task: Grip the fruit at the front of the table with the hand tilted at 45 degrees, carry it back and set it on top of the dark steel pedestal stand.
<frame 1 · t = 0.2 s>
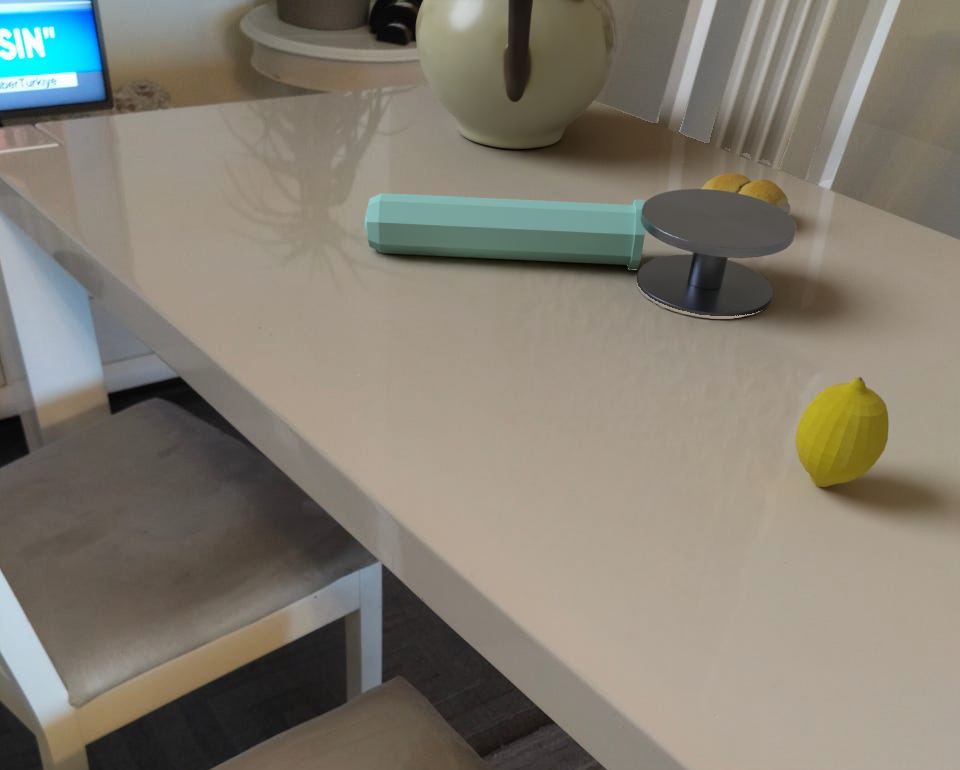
stand: (703, 288, 87), on the table
pitcher: (513, 137, 115), on the table
container: (500, 258, 90), on the table
fruit: (822, 487, 66), on the table
bread roll: (739, 220, 99), on the table
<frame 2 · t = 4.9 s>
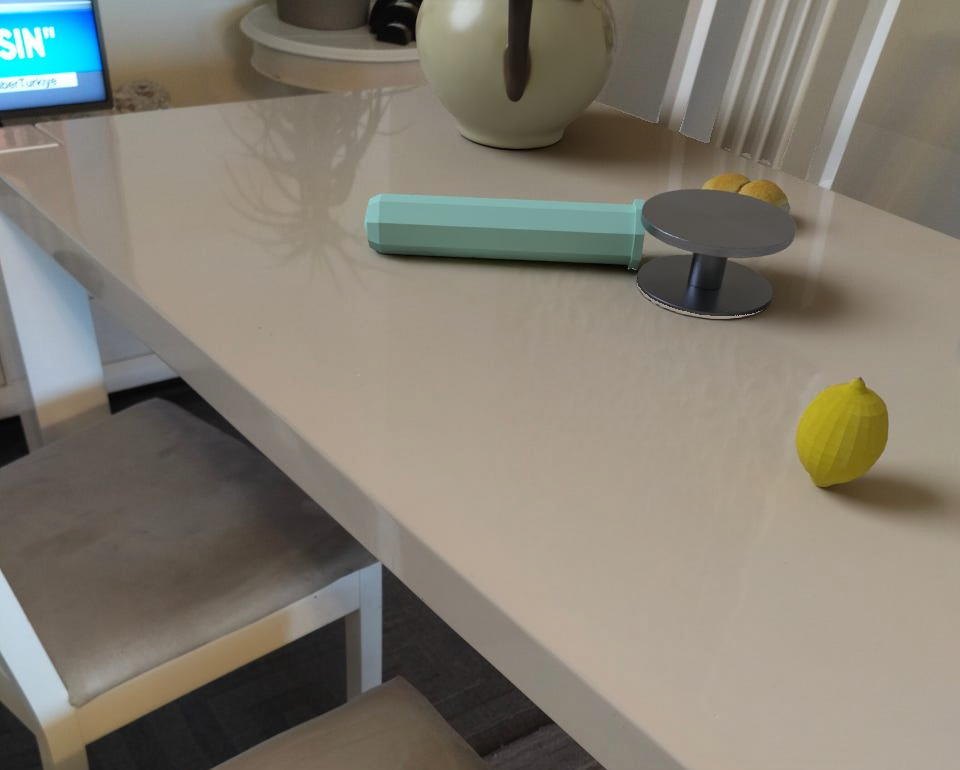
nothing on the table moved.
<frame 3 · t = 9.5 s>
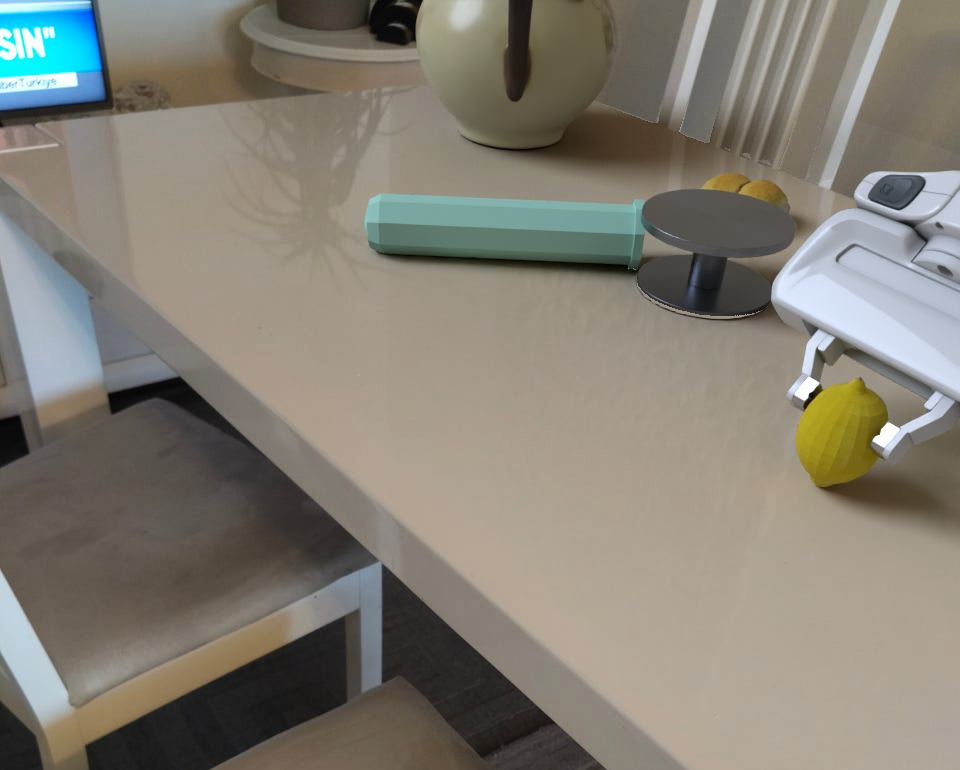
hand: (836, 430, 62), 4 cm above the table, tool tilted 45°, fingers closed on fruit, 5 cm apart
fruit: (822, 487, 66), on the table, touching gripper
everything else where it was.
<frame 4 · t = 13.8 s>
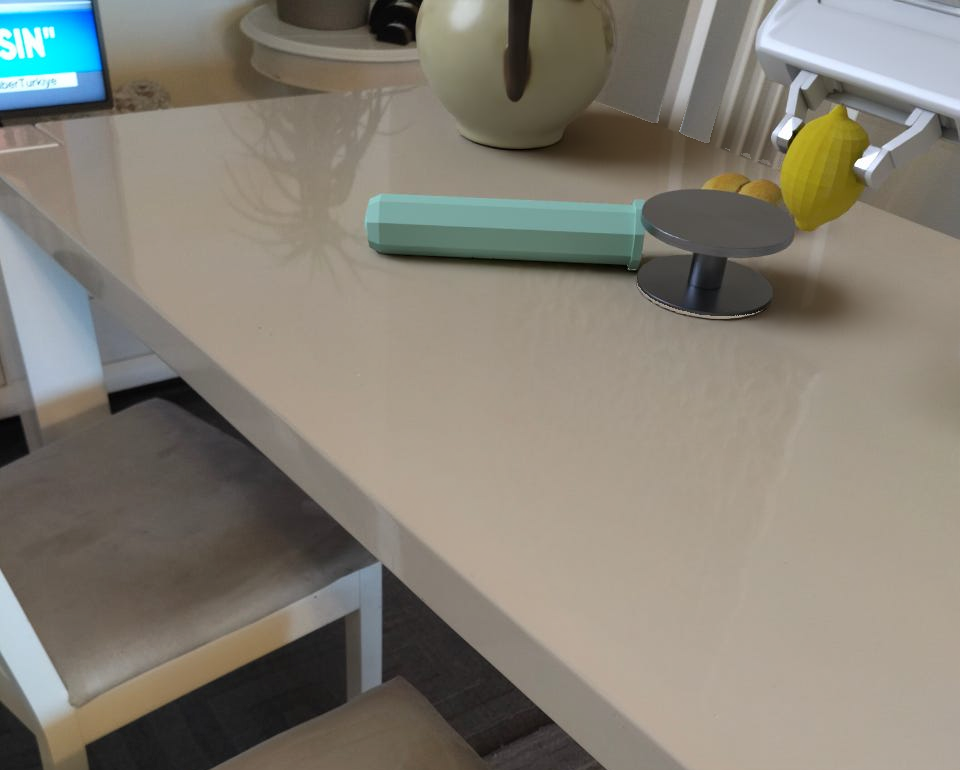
hand: (820, 164, 64), 16 cm above the table, tool tilted 45°, fingers closed on fruit, 5 cm apart
fruit: (807, 233, 67), point 12 cm above the table, touching gripper
everything else where it was.
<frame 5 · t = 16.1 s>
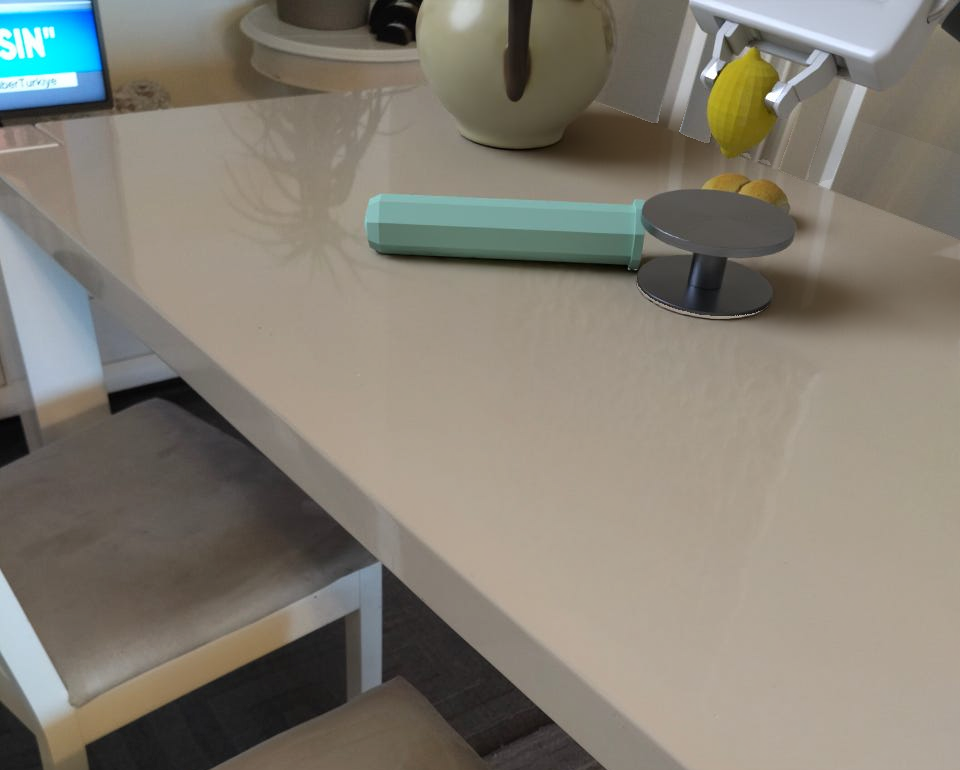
hand: (739, 99, 76), 15 cm above the table, tool tilted 45°, fingers closed on fruit, 5 cm apart
fruit: (731, 160, 79), point 11 cm above the table, touching gripper
everything else where it was.
when the fingers open (11 cm above the table, at t = 18.0 s): fruit stays where it is, resting on stand.
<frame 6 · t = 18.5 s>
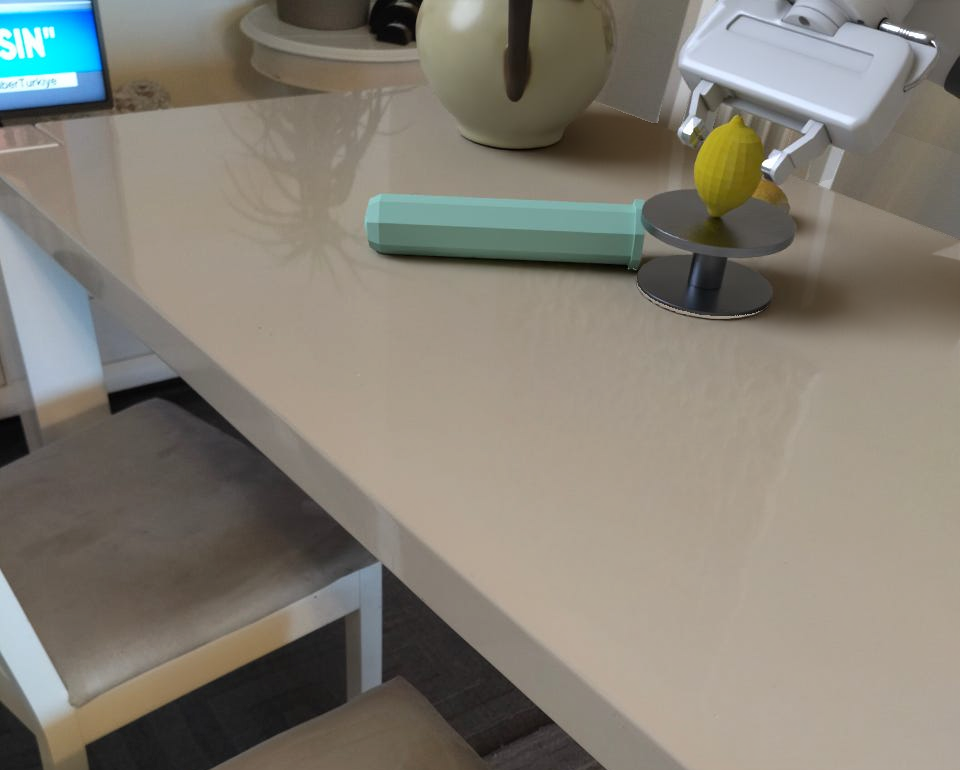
hand: (726, 159, 79), 11 cm above the table, tool tilted 45°, fingers open, 8 cm apart
fruit: (717, 218, 83), point 6 cm above the table, touching stand
everything else where it was.
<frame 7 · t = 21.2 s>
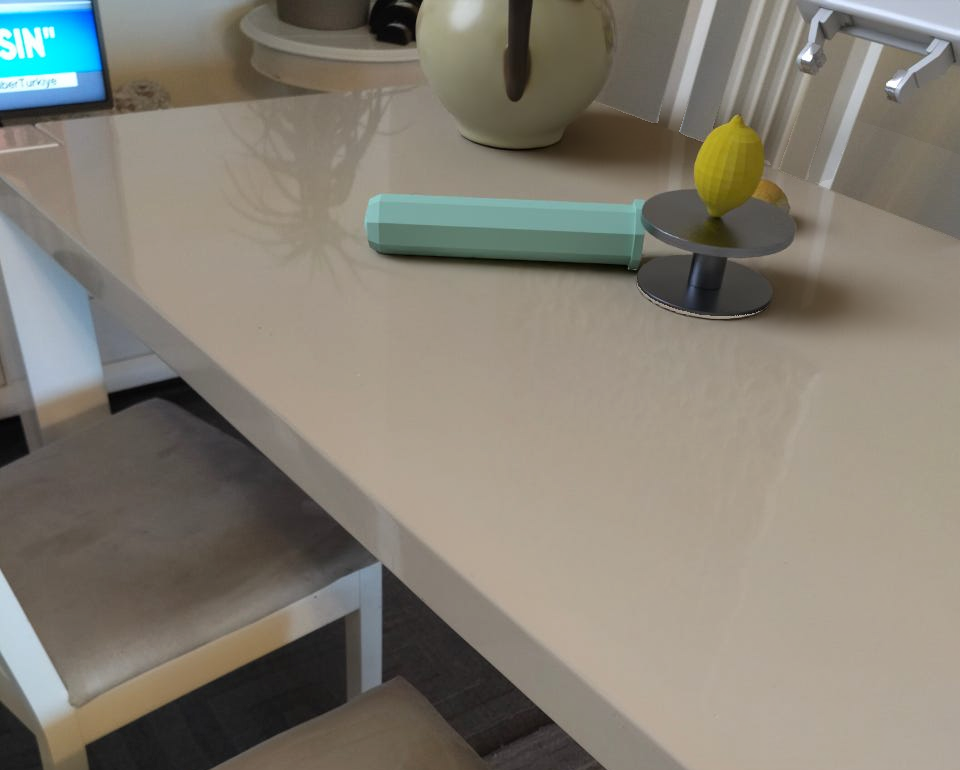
hand: (847, 82, 82), 15 cm above the table, tool tilted 45°, fingers open, 8 cm apart
nothing on the table moved.
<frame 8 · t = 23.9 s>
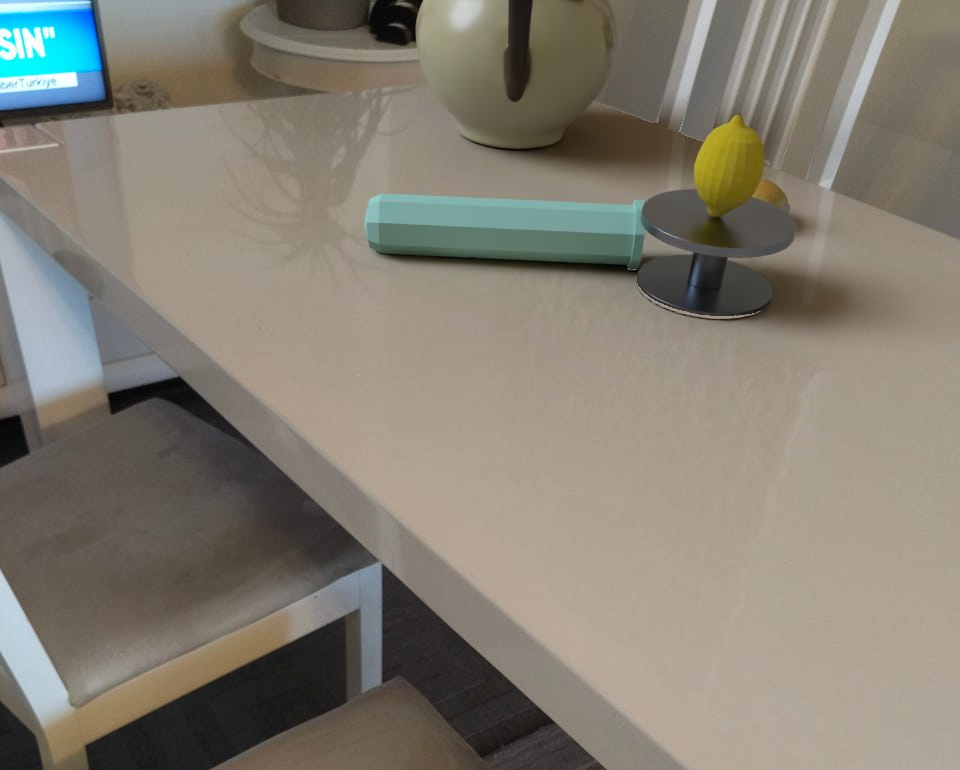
nothing on the table moved.
at the end: fruit inside the target area on the stand (0.0 cm from its centre), point 6.1 cm above the stand's base; the gripper is holding nothing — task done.
